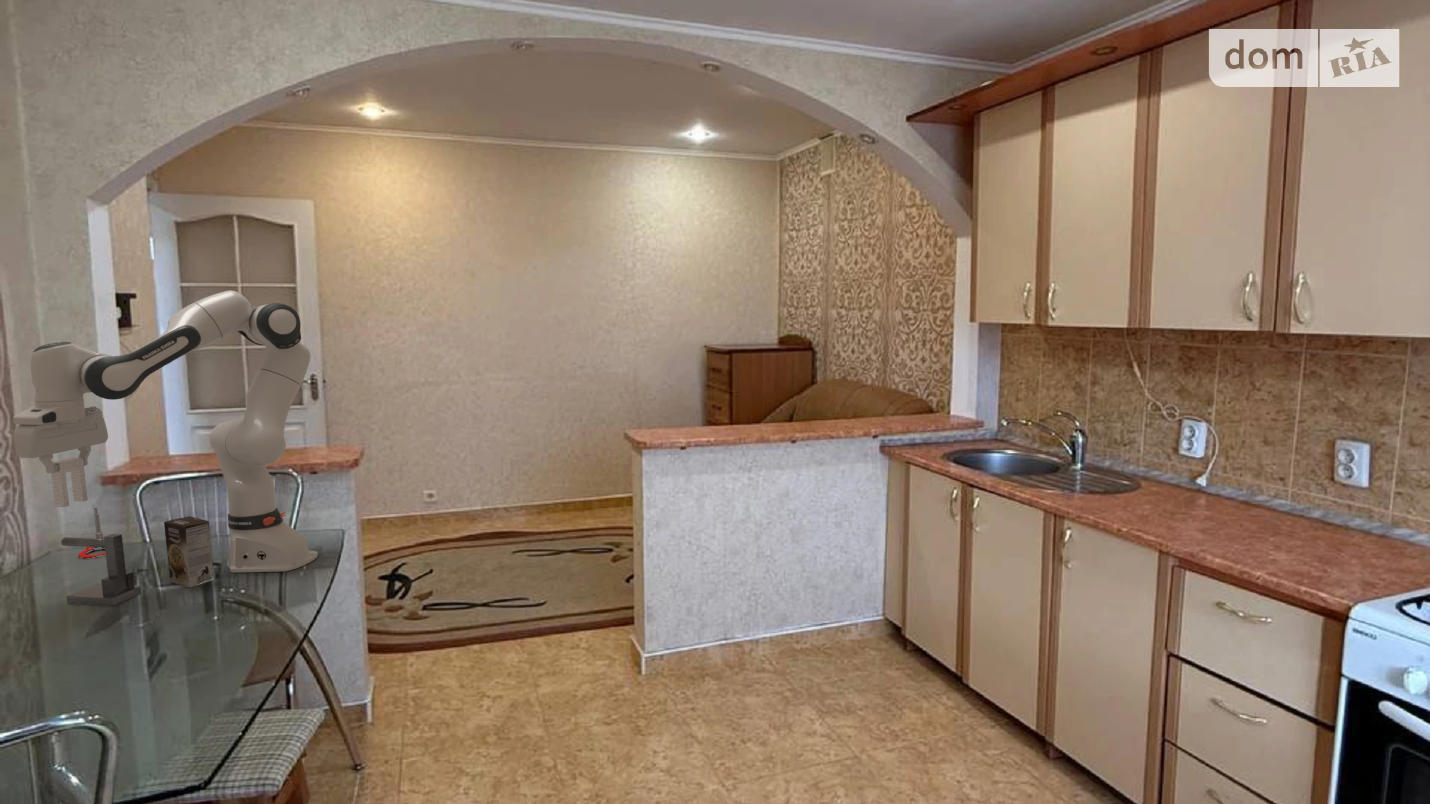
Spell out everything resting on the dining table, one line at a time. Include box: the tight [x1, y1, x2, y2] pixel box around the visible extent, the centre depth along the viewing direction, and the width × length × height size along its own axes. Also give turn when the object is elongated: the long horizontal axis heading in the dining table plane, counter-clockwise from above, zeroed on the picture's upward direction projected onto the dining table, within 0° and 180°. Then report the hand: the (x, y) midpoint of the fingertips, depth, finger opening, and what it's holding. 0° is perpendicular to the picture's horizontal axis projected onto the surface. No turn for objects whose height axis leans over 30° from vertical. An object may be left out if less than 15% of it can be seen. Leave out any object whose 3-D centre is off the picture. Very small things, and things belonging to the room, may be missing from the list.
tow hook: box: [77, 506, 106, 558], centre depth 218 cm, size 8×13×9 cm
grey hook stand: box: [60, 533, 142, 607], centre depth 187 cm, size 15×8×16 cm, turn 83°
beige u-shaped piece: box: [50, 457, 89, 508], centre depth 184 cm, size 2×6×10 cm, turn 173°
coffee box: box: [163, 515, 214, 588], centre depth 198 cm, size 9×6×16 cm
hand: (67, 469), depth 184 cm, fingers closed on beige u-shaped piece, 6 cm apart
